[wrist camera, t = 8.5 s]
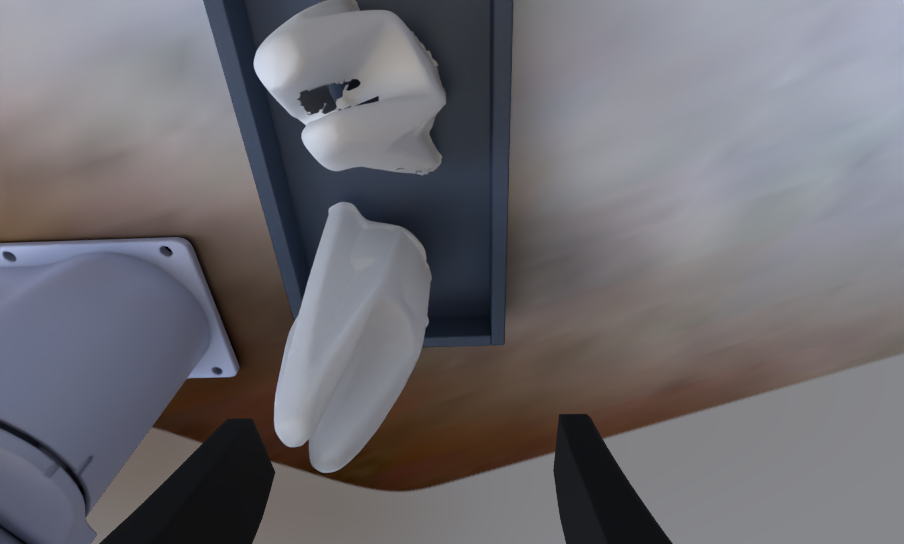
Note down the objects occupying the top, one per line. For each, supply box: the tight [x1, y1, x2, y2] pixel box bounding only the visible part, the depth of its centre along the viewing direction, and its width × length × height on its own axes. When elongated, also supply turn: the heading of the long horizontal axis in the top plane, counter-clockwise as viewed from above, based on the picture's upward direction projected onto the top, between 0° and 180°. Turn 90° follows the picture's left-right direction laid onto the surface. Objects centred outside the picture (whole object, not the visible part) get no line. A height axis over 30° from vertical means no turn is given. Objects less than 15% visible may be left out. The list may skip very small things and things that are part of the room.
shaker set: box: [254, 0, 446, 473], centre depth 13 cm, size 12×4×11 cm, turn 175°
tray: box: [203, 0, 513, 347], centre depth 15 cm, size 9×23×2 cm, turn 2°
